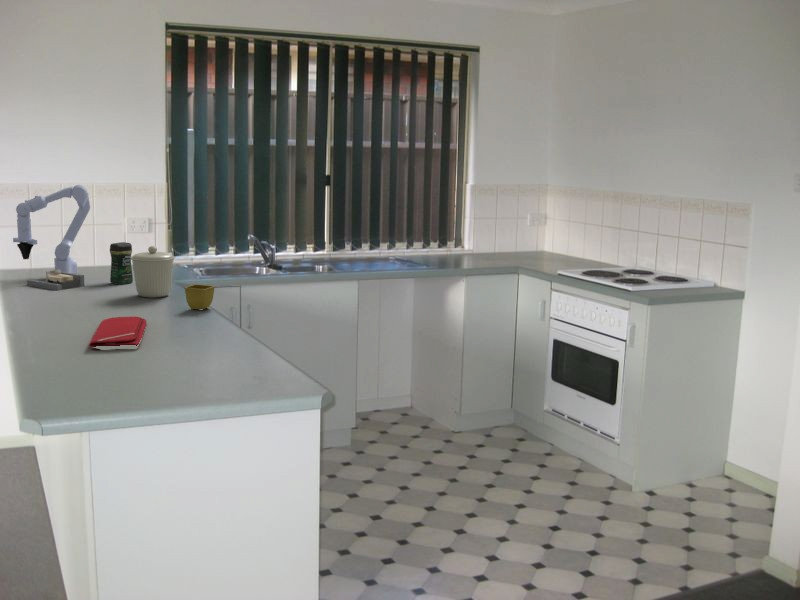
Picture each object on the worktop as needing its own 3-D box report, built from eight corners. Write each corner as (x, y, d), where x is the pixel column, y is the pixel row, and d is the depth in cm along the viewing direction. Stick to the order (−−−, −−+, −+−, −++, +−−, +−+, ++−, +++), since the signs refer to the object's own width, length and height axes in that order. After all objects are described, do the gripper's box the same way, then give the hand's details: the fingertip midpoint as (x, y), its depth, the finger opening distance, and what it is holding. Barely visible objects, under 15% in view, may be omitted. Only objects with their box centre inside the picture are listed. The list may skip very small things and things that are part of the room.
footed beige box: (60, 280, 396) (60, 269, 395) (74, 283, 391) (73, 271, 390) (46, 283, 389) (45, 271, 388) (59, 285, 385) (59, 273, 384)
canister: (122, 296, 371) (120, 246, 367) (152, 290, 387) (151, 242, 383) (155, 301, 363) (153, 250, 359) (185, 294, 378) (183, 245, 375)
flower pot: (215, 308, 352) (215, 285, 351) (204, 312, 344) (204, 289, 342) (195, 306, 355) (195, 284, 353) (184, 310, 346) (184, 287, 345)
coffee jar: (119, 285, 397) (117, 244, 393) (107, 283, 401) (106, 242, 398) (136, 282, 405) (135, 242, 401) (124, 280, 409) (123, 240, 406)
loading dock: (54, 282, 404) (53, 270, 403) (84, 287, 393) (84, 274, 392) (27, 286, 392) (26, 274, 391) (57, 291, 381) (57, 278, 380)
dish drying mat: (147, 323, 323) (147, 313, 322) (139, 351, 284) (139, 339, 283) (102, 325, 320) (101, 314, 319) (88, 352, 280) (87, 341, 280)
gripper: (6, 228, 402) (8, 258, 405) (27, 231, 395) (28, 261, 397) (20, 227, 408) (21, 256, 411) (40, 230, 401) (42, 259, 403)
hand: (26, 259), depth 405 cm, fingers closed
